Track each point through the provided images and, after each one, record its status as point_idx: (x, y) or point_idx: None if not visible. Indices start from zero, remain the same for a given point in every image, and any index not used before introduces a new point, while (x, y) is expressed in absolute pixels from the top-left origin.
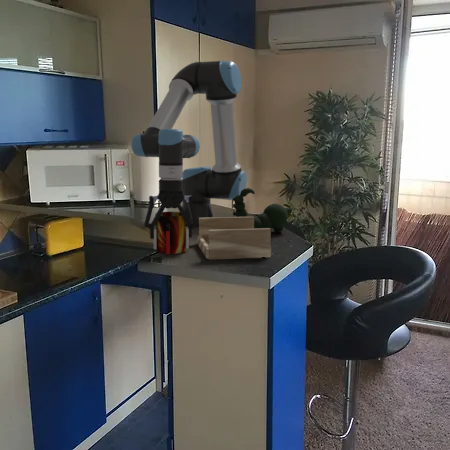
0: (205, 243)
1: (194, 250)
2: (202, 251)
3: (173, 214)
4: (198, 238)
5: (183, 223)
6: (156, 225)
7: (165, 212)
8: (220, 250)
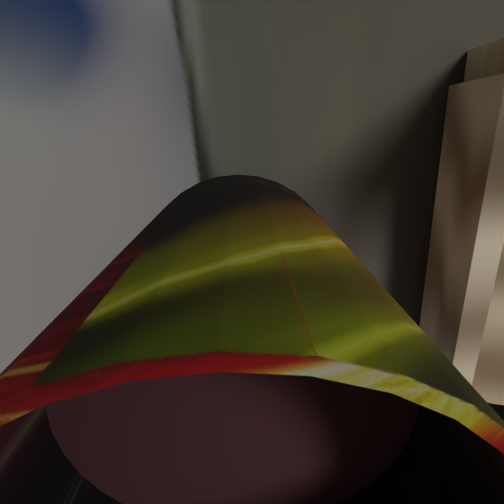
0: (469, 358)
1: (383, 272)
2: (422, 309)
3: (303, 322)
4: (483, 134)
5: (394, 490)
6: (81, 468)
7: (70, 387)
8: None
